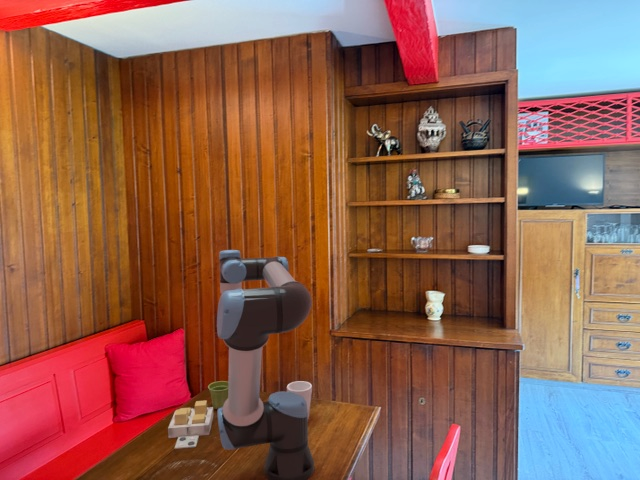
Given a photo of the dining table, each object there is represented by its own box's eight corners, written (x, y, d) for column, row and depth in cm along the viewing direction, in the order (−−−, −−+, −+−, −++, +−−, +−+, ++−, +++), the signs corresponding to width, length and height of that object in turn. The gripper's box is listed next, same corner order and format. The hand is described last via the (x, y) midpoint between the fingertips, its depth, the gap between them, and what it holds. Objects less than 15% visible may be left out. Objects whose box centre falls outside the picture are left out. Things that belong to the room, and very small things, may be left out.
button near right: (204, 429, 156) (203, 419, 156) (192, 430, 156) (192, 419, 155) (205, 424, 160) (205, 413, 160) (194, 425, 159) (193, 414, 159)
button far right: (205, 415, 162) (205, 405, 161) (194, 416, 161) (194, 405, 161) (207, 410, 166) (206, 400, 165) (196, 411, 165) (196, 401, 165)
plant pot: (225, 399, 183) (225, 379, 182) (236, 406, 176) (236, 386, 175) (204, 405, 177) (204, 385, 176) (215, 414, 170) (214, 392, 169)
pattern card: (195, 447, 147) (195, 445, 146) (174, 449, 146) (174, 447, 146) (198, 436, 153) (198, 434, 153) (178, 438, 153) (178, 436, 152)
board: (209, 434, 154) (208, 425, 154) (168, 438, 153) (167, 428, 152) (213, 415, 168) (213, 406, 168) (176, 418, 166) (175, 409, 166)
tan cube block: (189, 422, 161) (189, 412, 161) (178, 423, 161) (178, 413, 160) (191, 417, 165) (190, 407, 165) (180, 418, 165) (180, 408, 164)
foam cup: (309, 426, 159) (309, 392, 158) (285, 424, 161) (284, 390, 160) (314, 414, 169) (313, 381, 168) (291, 412, 170) (290, 380, 169)
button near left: (186, 424, 155) (186, 414, 155) (175, 425, 155) (174, 414, 154) (188, 419, 159) (188, 408, 159) (177, 420, 158) (176, 409, 158)
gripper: (237, 289, 162) (239, 351, 164) (209, 295, 152) (211, 361, 154) (251, 291, 157) (253, 355, 159) (223, 298, 147) (226, 365, 149)
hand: (233, 358), depth 156 cm, fingers closed
